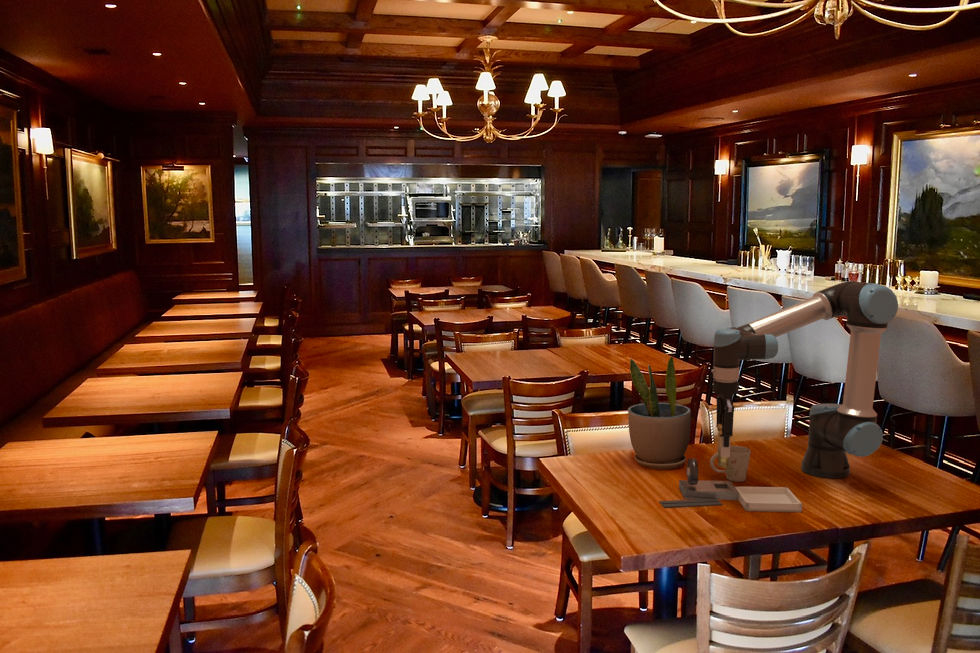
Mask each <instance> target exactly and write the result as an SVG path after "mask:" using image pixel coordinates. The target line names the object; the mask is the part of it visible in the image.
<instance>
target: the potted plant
mask: <svg viewBox="0 0 980 653" xmlns="http://www.w3.org/2000/svg"><path fill="white" fill-rule="evenodd" d="M629 360H630V361H629V370H630V371H629V373H630V377H631V382H632V385H633V386H634V387H635V389H636V391H637V392H638V394H639V397H641V399H642V401H643V403H637V404H634V405H631V406H629V407H628V408H627V416H628V418H627V419H628V432H629V433H628V434H629V438H630V440H629V441H630V444H631V446H632V449H633V451H634V454H635V456H634V460H635V461H636V463H637V464H638V465H640V466H642V467H646V468H648V469H655V470H670V469H672V470H673V469H676V468H681V467H682V466H683V465H684V464H685V463H687V458H686V457H687V456H685V454H686V452H687V449H688V447H689V442H690V436H691V417H692V416H691V415H692V414H691V412H692V411H691V409H690V407H687V406H685V405H681V404H678V403H677V378H676V369H675V362H674V355H671V356H670V358H669V359H668V362H667V366H666V373H665V383H664V386H665V387H664V388H665V391H666V396H667V399H668V402H659V395H658V391H657V390H658V389H657V386H656V383H655V379H654V376H653V371H652V366H651V365H650V364H648V375H649V383H650V384H649V386H648V383H647V382H646V378H645V377H644V374H643V372H642V371H641V369H640V368H639V367H638V365H637V364H636V362H635V360H634V359H632V358H630V359H629Z"/></svg>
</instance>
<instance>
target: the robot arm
mask: <svg viewBox="0 0 980 653" xmlns="http://www.w3.org/2000/svg"><path fill="white" fill-rule="evenodd" d="M898 302H899V301H898V297H897V295H896V294H895V292H894V291H893V290H892V289H891V288H889V287H888V286H887V285H883V284H879V283H873V282H862V281H857V280H849V281H844V282H840V283H837V284H834V285H831V286H829V287H827V288H824V289H821V290H819V291H816V292H814V293H813V295H812V297H810V298H807V299H805V300H803V301H800V302H798V303H796V304H793V305H790V306H788V307H785V308H782V309H781V310H778V311H775V312H774V313H770V314H768V315H766V316H763V317H761V318H758V319H755V320H754V321H751V322H748V323H745V324H743V325H740V326H738V327H735V326H728V327H725V328H720V329H717V330H715V332H714V337H713V369H711V373H712V378H713V381H712V392H713V393H714V394H716V395H718V396H715V398H716V399H715V400H716V426H715V427H716V428H717V424H719V423H722V434H720V437H721V450H720V456H721V457H730V446H731V437H733V436H734V432H733V431H734V415H735V414H734V413H735V408H736V407H735V405H734V399H733V398H732V396H733V395H737V394H738V393H739V384H740V383H739V381H738V380H739V379H740V361H749V360H750V361H751V360H752V361H753V360H769V359H774V358H775V357H777V354H778V352H779V341H778V339H777V338H778V337H780V336H782V335H786V334H787V333H791V332H792V331H794V330H797V329H800V328H803V327H805V326H808V325H810V324H813V323H815V322H818V321H820V320H825V321H829V320H831V319H833V318H837V317H838V318H839V317H846V323H845V324H846V327H847V328H848V329H849V330H850V335H849V336H850V337H849V345H848V347H849V348H848V354H847V361H846V362H847V364H846V373H845V382H844V383H845V384H844V388H843V389H844V392H843V399H842V400H843V401H842V404H841V403H816V404H813V405H812V406H811V407H810V409H809V414H808V415H809V421H808V422H809V425H808V443H807V444H808V445H807V449H806V451H805V453H804V456H803V458H802V461H801V470H802V471H803V472H804V473H805V474H808V475H811V476H814V477H820V478H826V479H842V478H846V477H849V476H850V474H851V467H850V462H849V458H848V455H847V454H849V455H852V456H856V457H860V458H861V457H867V456H871V455H872V454H874V452H875V451H877V450H879V448H880V446H881V445H882V444H883V443H882V442H883V437H884V434H883V430H882V429H881V427H880V426H879V425H878V424H877V421H878V420H877V419H878V413H877V412H876V411H875V410H874V408H873V406H874V397H875V390H876V380H877V372H878V364H879V355H880V345H881V337H882V333H883V332H884V331H886V330H888V323H889V322H892V320H893V319H894V318H895V317H896V316H897V313H898V310H899V303H898ZM717 431H718V432H717V448H718V447H719V429H718V428H717Z"/></svg>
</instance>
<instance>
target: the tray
mask: <svg viewBox="0 0 980 653" xmlns="http://www.w3.org/2000/svg"><path fill="white" fill-rule="evenodd" d="M735 488H736V489H737V491H738V492H739V494H738V500H737V501H738V502H739V503H740V504H741V506H742V507H743V509H744V510H745V511H746V512H768V513H769V512H776V513H777V512H778V513H779V512H780V513H802V512H803V503H802V502H801V501H800V500H799V499H798V498H797V497H796V495H795V494H794V493H793V492H792V491H791V490H790V488H789V487H786V486H785V487H784V486H783V487H782V486H781V487H780V486H778V487H777V486H735Z"/></svg>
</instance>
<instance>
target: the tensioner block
mask: <svg viewBox="0 0 980 653" xmlns="http://www.w3.org/2000/svg"><path fill="white" fill-rule="evenodd" d="M685 470H686V479H683V480H682V479H678V480H679V484H678V486H679V487H678V488H679V490H680V493H681V494H682V496H683V498H684V500H695V499H718V500H719V501H720V500H721V501H722V500H723V501H724V500H725V501H726V500H727V501H739V500H738V494H739V492H738V491H737V489H736V488H735V487H736V486H735V485H734V484H733V481H730V480H699V473H700V472H699V464H698V460H697V458H688V459H687V460H686V469H685Z"/></svg>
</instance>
